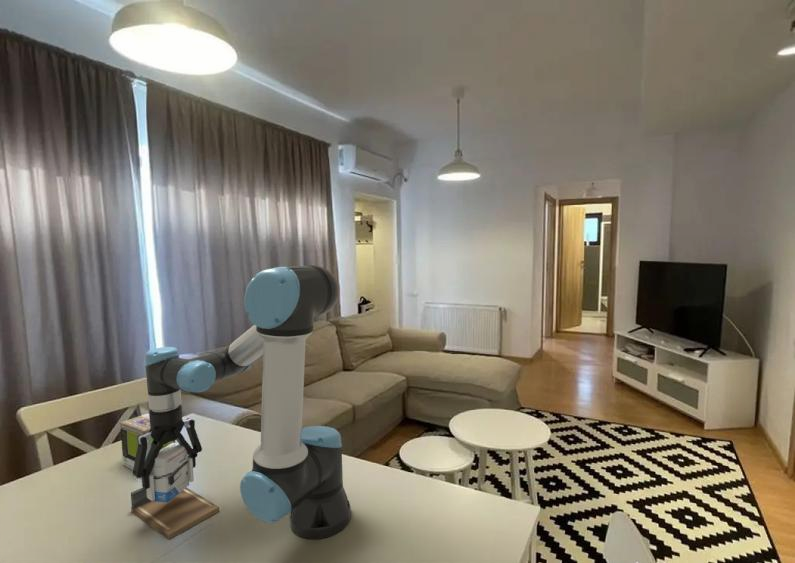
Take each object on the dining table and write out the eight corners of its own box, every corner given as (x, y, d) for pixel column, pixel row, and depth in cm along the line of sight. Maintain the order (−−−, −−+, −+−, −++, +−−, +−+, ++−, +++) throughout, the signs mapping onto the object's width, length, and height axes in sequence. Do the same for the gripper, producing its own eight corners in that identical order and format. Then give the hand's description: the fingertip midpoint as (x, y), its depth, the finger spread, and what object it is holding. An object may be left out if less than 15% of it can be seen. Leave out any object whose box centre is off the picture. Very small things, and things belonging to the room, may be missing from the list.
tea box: (178, 463, 136) (175, 419, 134) (146, 478, 127) (142, 431, 126) (153, 452, 144) (150, 410, 142) (122, 465, 135) (118, 421, 134)
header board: (219, 511, 110) (217, 477, 109) (168, 539, 99) (166, 502, 99) (180, 487, 121) (178, 457, 121) (131, 511, 111) (128, 477, 110)
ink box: (167, 503, 106) (164, 458, 105) (151, 501, 107) (147, 457, 106) (190, 484, 114) (188, 443, 114) (174, 483, 115) (172, 442, 115)
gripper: (198, 392, 120) (203, 466, 122) (111, 418, 102) (118, 505, 104) (213, 396, 116) (217, 474, 117) (125, 425, 98) (131, 516, 99)
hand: (171, 489), depth 111 cm, fingers closed on ink box, 9 cm apart
